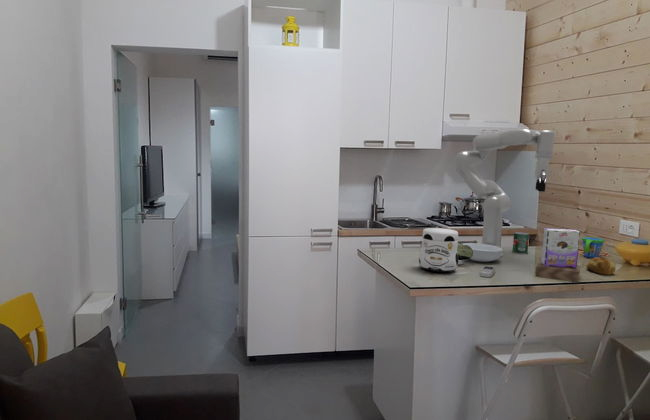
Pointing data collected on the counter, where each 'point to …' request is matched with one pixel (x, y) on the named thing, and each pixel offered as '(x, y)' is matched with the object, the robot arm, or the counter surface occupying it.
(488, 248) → the serving bowl
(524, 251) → the canned tomato
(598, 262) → the bread roll
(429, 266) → the milk container
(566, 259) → the candy box
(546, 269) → the walnut block
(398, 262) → the counter surface
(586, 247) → the snack cup
